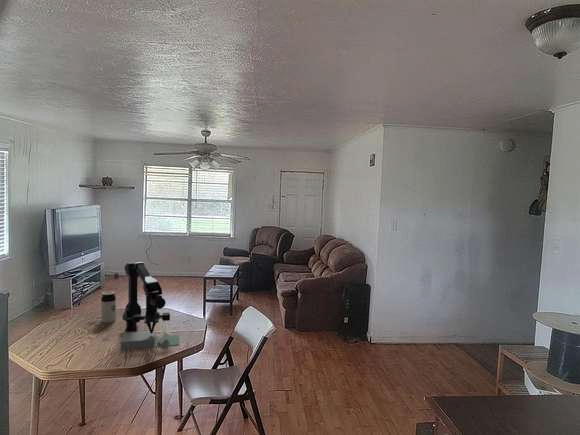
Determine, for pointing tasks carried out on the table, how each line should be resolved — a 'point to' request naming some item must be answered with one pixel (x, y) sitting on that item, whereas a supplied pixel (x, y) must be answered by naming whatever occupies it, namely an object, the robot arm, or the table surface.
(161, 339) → the block
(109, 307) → the travel mug
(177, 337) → the mat
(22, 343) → the table surface
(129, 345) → the grey flat box
